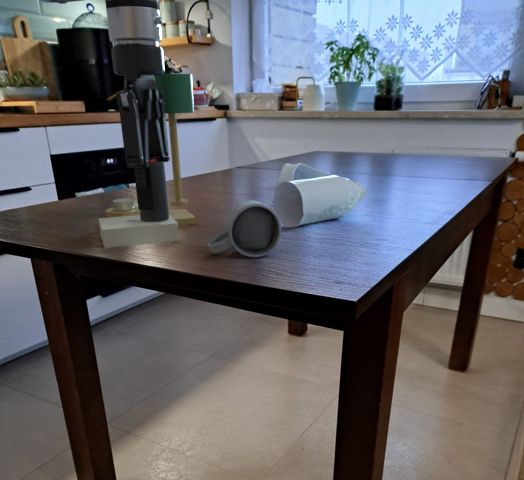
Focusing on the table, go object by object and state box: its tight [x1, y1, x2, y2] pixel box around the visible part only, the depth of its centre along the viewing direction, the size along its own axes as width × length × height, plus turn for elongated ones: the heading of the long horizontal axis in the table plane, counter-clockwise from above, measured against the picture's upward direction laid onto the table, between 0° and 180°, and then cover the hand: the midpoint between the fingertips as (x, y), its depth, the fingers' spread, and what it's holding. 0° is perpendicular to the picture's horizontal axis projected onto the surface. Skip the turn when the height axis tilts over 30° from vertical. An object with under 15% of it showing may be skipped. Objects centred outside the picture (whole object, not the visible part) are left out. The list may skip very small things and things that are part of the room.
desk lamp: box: [155, 73, 195, 207], centre depth 94 cm, size 8×8×22 cm
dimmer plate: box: [97, 215, 181, 249], centre depth 87 cm, size 14×9×3 cm, turn 110°
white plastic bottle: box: [271, 174, 367, 228], centre depth 97 cm, size 8×19×8 cm, turn 128°
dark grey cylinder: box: [139, 159, 169, 222], centre depth 85 cm, size 5×5×9 cm
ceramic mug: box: [207, 199, 282, 258], centre depth 78 cm, size 11×8×8 cm
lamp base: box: [105, 205, 197, 226], centre depth 98 cm, size 16×9×3 cm, turn 110°
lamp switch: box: [112, 198, 134, 212], centre depth 95 cm, size 4×4×2 cm
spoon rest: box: [274, 162, 331, 194], centre depth 127 cm, size 24×12×7 cm, turn 160°
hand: (153, 205), depth 86 cm, fingers closed on dark grey cylinder, 5 cm apart
